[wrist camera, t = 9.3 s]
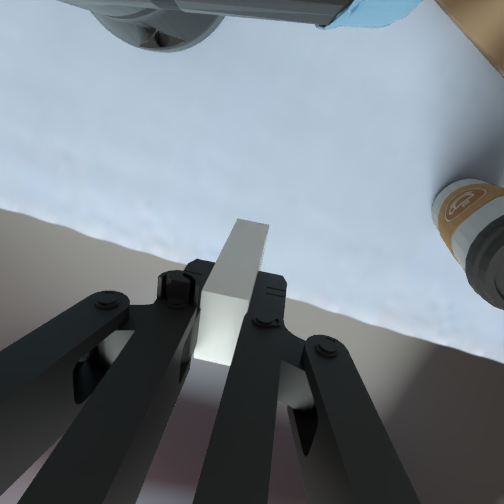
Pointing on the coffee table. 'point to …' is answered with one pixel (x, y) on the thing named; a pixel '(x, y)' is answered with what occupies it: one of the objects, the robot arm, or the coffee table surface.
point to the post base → (480, 26)
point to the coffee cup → (475, 233)
